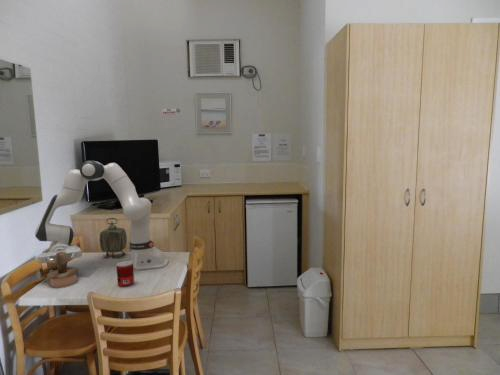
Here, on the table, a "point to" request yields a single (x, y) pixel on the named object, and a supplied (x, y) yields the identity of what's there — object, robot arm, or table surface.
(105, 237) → the tabletop clock
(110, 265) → the table surface
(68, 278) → the bowl
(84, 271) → the mat
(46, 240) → the robot arm
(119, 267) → the canned food
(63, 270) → the lid
